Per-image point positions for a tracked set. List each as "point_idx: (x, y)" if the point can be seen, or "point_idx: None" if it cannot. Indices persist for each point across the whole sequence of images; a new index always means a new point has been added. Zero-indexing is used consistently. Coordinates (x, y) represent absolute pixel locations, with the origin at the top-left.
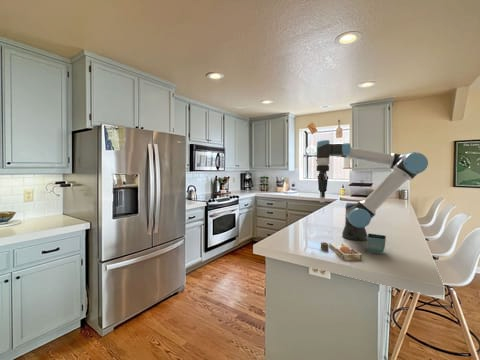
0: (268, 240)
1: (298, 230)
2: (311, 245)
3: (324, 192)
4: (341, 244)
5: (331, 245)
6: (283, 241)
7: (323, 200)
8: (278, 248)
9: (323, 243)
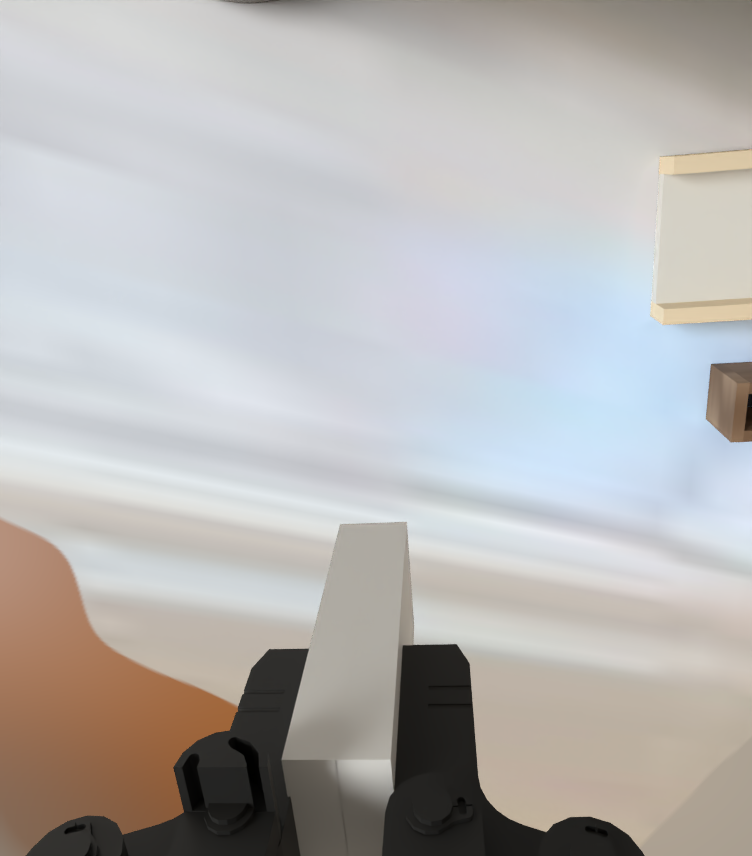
0: None
1: (37, 489)
2: (601, 480)
3: (480, 791)
4: (668, 174)
5: (731, 319)
6: (472, 687)
7: (408, 585)
8: (670, 747)
9: (742, 415)
